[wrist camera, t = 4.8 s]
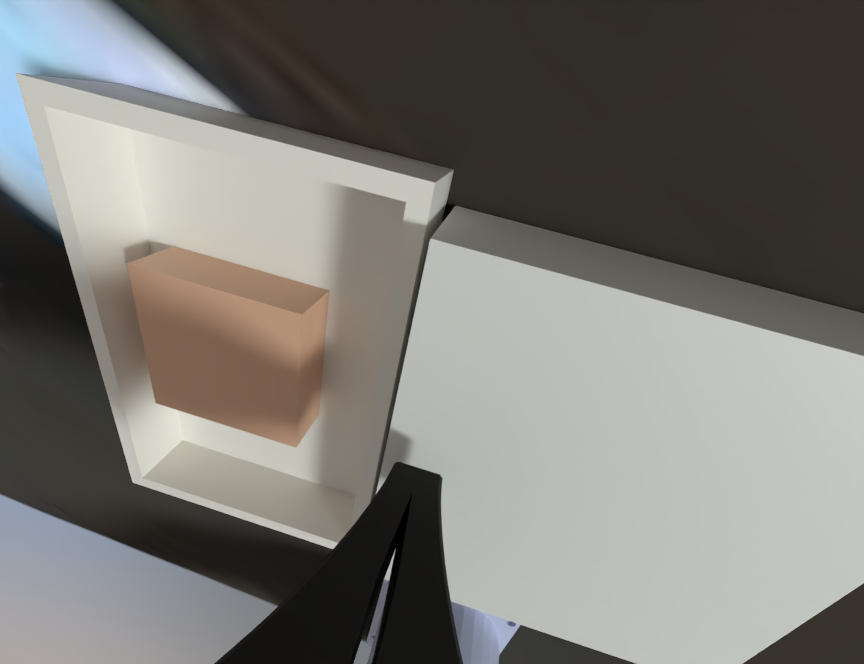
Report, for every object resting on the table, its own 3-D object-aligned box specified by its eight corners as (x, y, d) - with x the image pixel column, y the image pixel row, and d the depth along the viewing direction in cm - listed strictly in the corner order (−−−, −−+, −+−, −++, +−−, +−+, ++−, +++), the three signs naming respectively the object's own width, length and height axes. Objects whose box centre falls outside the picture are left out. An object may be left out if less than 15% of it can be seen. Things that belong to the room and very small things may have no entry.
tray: (379, 500, 20) (358, 557, 17) (182, 436, 20) (132, 482, 18) (453, 169, 12) (435, 182, 9) (122, 84, 12) (15, 73, 10)
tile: (155, 403, 15) (192, 374, 17) (296, 447, 15) (319, 414, 17) (126, 263, 12) (175, 246, 14) (302, 314, 12) (329, 290, 14)
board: (670, 579, 18) (706, 687, 15) (388, 489, 19) (359, 570, 16) (923, 329, 11) (1106, 422, 8) (455, 205, 12) (430, 238, 9)
